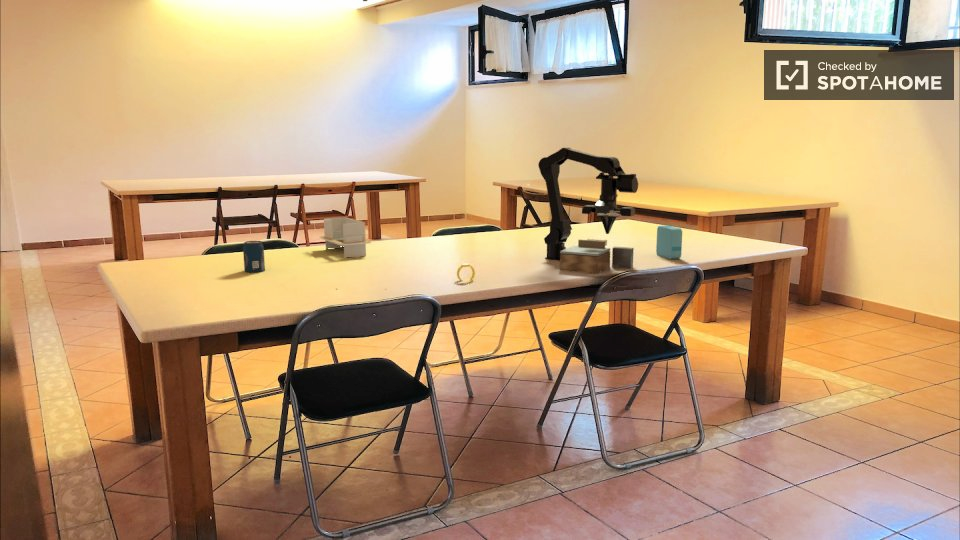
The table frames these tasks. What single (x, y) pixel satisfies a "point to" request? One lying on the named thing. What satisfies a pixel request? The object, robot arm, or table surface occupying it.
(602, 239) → the bolt
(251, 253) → the soda can
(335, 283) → the table surface
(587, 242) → the box lid
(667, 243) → the data package
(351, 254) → the architectural model
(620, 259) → the block
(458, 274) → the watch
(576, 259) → the storage box
